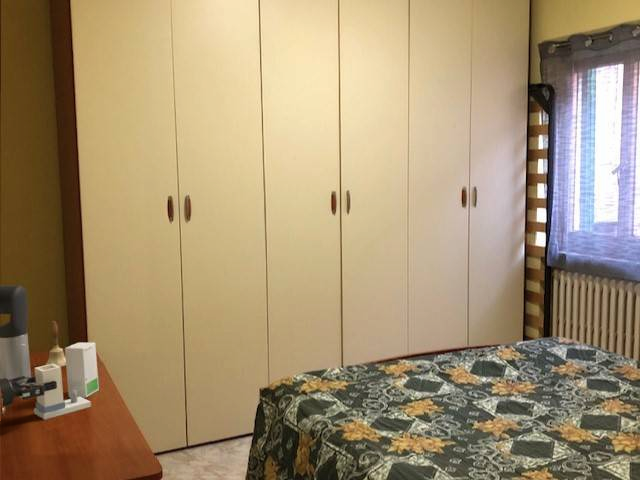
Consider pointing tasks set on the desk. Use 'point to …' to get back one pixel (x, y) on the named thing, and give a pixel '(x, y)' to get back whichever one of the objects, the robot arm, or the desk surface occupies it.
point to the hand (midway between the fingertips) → (49, 381)
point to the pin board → (66, 406)
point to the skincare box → (82, 369)
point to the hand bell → (56, 348)
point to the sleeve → (51, 397)
